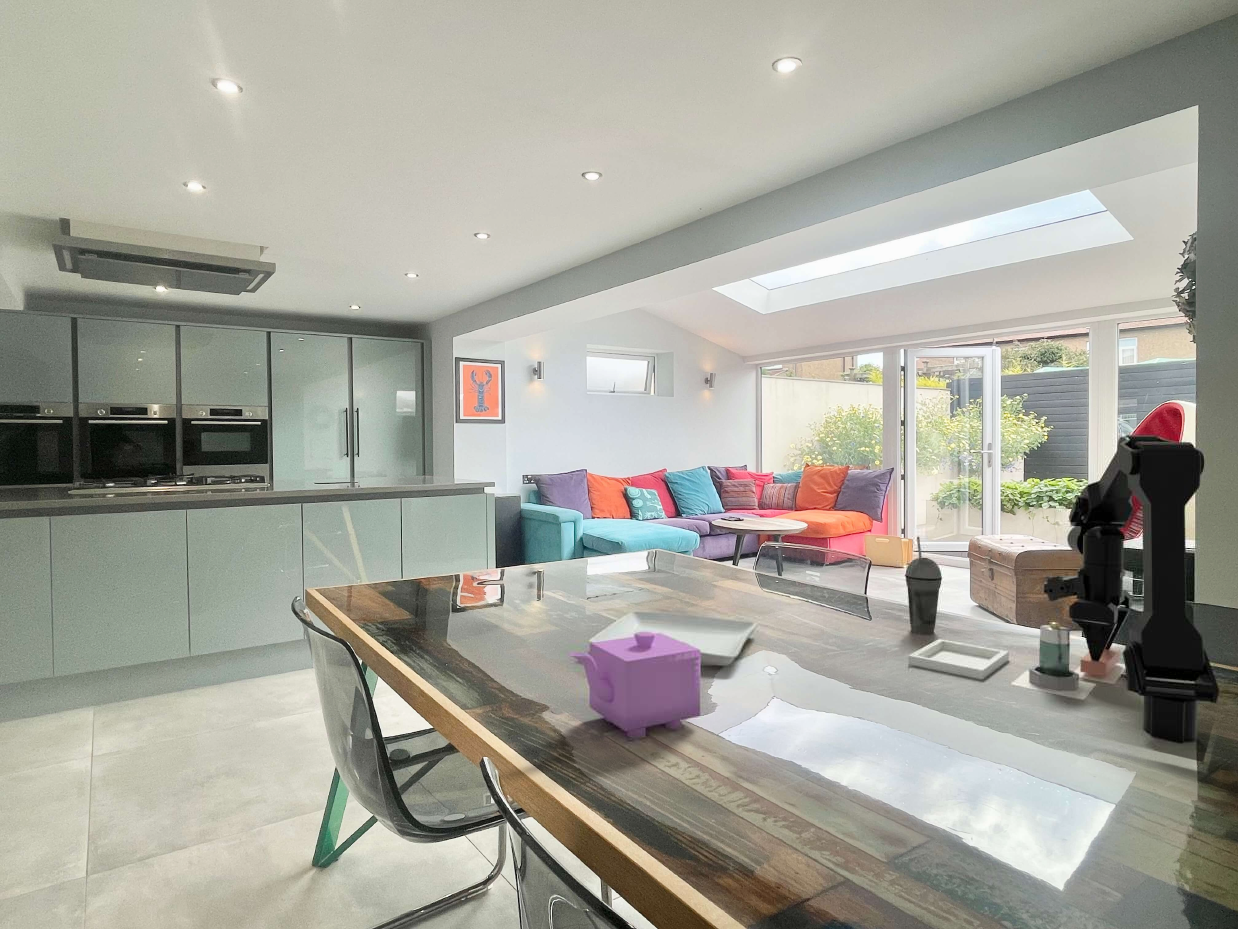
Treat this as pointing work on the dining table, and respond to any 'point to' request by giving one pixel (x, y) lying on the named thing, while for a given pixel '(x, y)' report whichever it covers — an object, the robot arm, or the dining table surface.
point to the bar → (1100, 663)
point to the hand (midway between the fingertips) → (1100, 654)
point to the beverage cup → (923, 593)
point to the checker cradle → (1066, 681)
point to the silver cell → (1054, 650)
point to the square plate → (686, 633)
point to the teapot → (643, 681)
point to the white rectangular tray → (959, 658)
